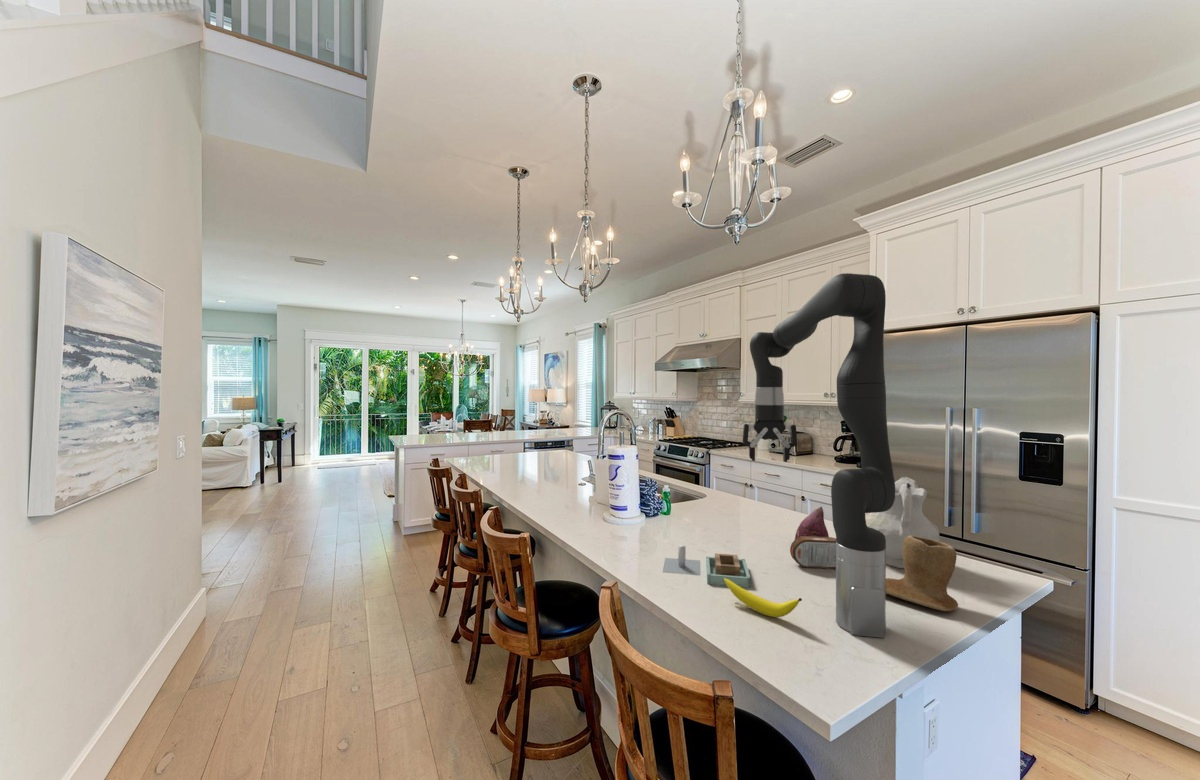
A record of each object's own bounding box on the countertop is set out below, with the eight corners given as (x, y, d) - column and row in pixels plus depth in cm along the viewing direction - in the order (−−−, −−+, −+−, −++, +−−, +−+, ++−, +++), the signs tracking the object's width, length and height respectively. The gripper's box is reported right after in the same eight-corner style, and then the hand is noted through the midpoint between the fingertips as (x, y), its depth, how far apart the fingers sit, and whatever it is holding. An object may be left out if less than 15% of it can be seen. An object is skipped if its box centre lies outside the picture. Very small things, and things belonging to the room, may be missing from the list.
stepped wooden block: (740, 582, 120) (740, 567, 120) (716, 580, 121) (716, 565, 121) (737, 569, 129) (737, 555, 129) (714, 567, 130) (714, 553, 130)
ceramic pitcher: (957, 584, 123) (965, 490, 123) (877, 574, 126) (885, 482, 126) (915, 556, 145) (922, 476, 144) (848, 547, 148) (854, 469, 148)
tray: (750, 589, 117) (750, 578, 117) (707, 585, 119) (707, 574, 119) (744, 569, 130) (745, 559, 130) (706, 566, 133) (706, 556, 133)
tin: (844, 566, 133) (844, 536, 133) (849, 570, 130) (849, 540, 130) (789, 564, 135) (789, 534, 135) (793, 568, 132) (793, 538, 132)
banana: (727, 596, 113) (727, 570, 113) (804, 626, 99) (804, 596, 99) (720, 600, 111) (720, 573, 111) (798, 631, 97) (798, 600, 97)
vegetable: (829, 556, 150) (842, 511, 150) (825, 561, 142) (839, 514, 141) (795, 542, 156) (808, 499, 156) (789, 546, 147) (803, 501, 147)
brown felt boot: (966, 605, 109) (966, 541, 109) (948, 620, 102) (948, 551, 102) (894, 583, 121) (894, 525, 121) (874, 595, 114) (874, 534, 114)
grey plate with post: (700, 577, 125) (700, 554, 125) (662, 574, 127) (662, 551, 127) (699, 562, 136) (699, 541, 136) (665, 559, 138) (665, 538, 138)
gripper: (744, 403, 129) (744, 462, 129) (799, 404, 126) (799, 464, 126) (741, 402, 136) (741, 458, 136) (793, 403, 134) (793, 460, 134)
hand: (769, 461), depth 131 cm, fingers open, 8 cm apart
